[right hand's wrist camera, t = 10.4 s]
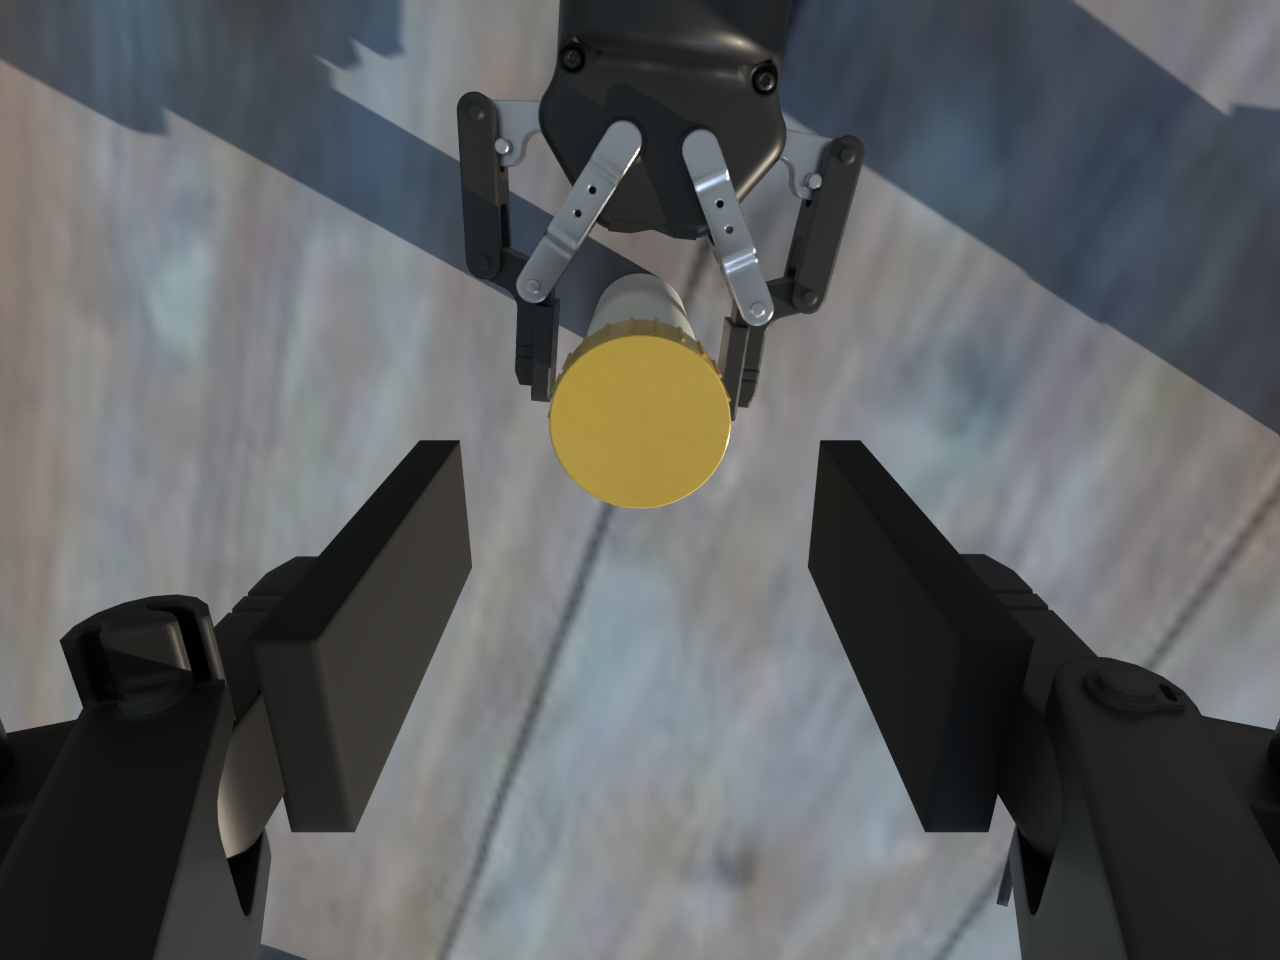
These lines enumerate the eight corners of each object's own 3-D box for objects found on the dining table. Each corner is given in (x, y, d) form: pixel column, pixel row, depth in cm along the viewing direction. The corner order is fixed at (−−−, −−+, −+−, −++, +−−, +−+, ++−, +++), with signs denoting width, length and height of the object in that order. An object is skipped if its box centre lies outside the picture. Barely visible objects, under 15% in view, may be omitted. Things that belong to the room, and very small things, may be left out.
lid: (584, 291, 20) (578, 304, 18) (750, 350, 21) (763, 369, 18) (535, 449, 22) (524, 478, 19) (689, 499, 22) (694, 533, 20)
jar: (611, 260, 33) (588, 318, 18) (697, 291, 34) (743, 372, 19) (583, 346, 35) (541, 466, 20) (666, 375, 35) (686, 512, 20)
